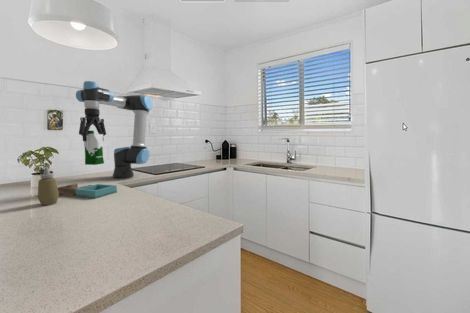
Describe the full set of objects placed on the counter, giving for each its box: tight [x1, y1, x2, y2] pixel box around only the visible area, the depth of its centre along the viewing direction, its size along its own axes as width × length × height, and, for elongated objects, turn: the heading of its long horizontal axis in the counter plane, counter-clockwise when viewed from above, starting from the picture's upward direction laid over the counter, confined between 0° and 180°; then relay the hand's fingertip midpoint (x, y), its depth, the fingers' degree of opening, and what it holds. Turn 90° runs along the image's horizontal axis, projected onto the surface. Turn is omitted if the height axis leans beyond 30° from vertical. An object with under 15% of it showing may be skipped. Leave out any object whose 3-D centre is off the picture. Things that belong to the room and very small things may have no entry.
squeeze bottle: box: [37, 166, 60, 206], centre depth 114 cm, size 8×8×18 cm
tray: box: [75, 183, 118, 200], centre depth 132 cm, size 14×14×4 cm
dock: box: [57, 183, 93, 197], centre depth 135 cm, size 11×13×4 cm
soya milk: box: [84, 130, 105, 166], centre depth 141 cm, size 9×9×20 cm
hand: (93, 146), depth 141 cm, fingers closed on soya milk, 9 cm apart
